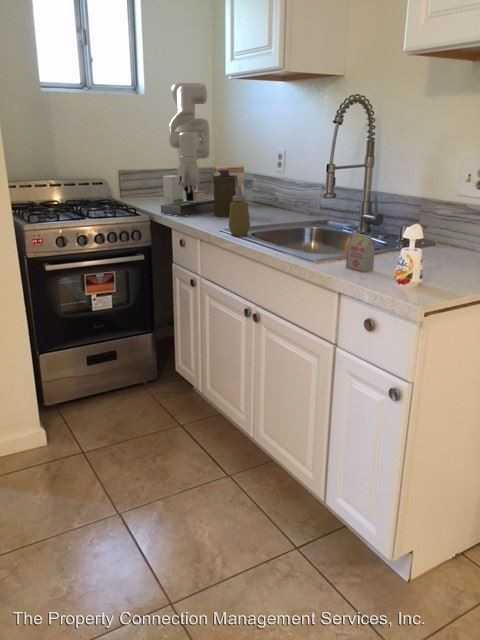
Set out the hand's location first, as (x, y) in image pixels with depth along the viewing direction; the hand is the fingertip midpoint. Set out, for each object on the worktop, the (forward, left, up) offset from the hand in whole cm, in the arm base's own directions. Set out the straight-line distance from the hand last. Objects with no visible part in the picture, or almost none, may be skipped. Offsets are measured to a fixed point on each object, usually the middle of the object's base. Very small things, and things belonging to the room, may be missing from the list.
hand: (189, 200), depth 259 cm
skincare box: (-6, -19, -6) cm, 21 cm away
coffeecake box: (-30, -3, -6) cm, 30 cm away
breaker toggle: (-5, 0, -1) cm, 5 cm away
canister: (-4, +20, -6) cm, 21 cm away
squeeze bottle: (+27, +58, -6) cm, 64 cm away
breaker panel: (0, 0, -5) cm, 5 cm away
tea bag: (+42, +119, -6) cm, 126 cm away
